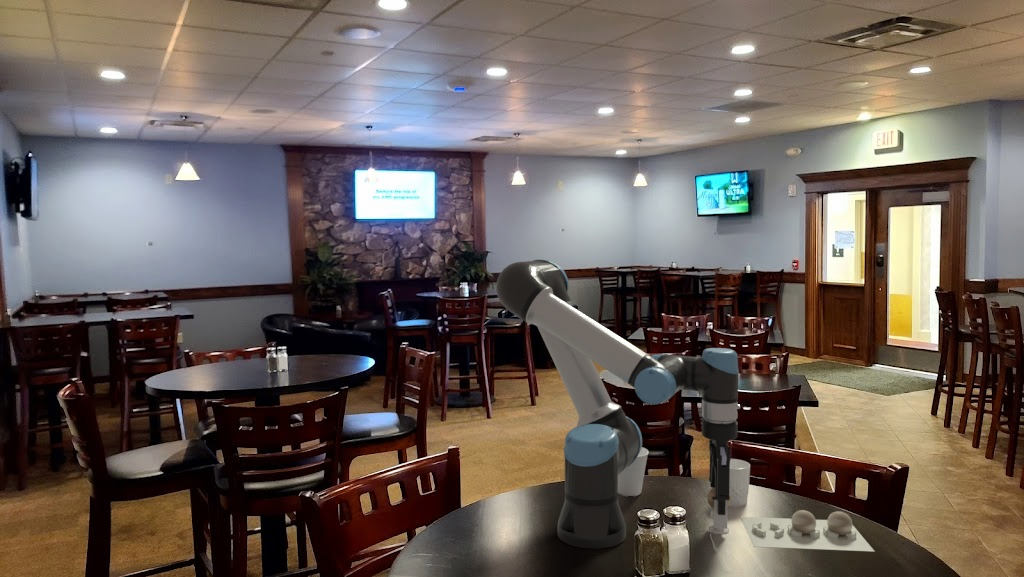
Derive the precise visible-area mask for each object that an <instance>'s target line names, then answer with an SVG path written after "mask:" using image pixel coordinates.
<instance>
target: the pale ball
mask: <svg viewBox="0 0 1024 577" xmlns="http://www.w3.org/2000/svg"><path fill="white" fill-rule="evenodd" d="M826 520H827V524H828V527H829V529H830V530H831V531H832V532H835V533H838V534H839V535H846V534H848V533H849V532H850V531H851V530H852V526H854V525H853V520H852V518H851V517H850V515H849V514H847V513H846V512H844V511H837V510H836V511H833V512H831V513H830V514H829V515H828V517H827V519H826Z"/></svg>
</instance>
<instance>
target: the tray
mask: <svg viewBox="0 0 1024 577" xmlns="http://www.w3.org/2000/svg"><path fill="white" fill-rule="evenodd" d="M740 520H741V522H742V524H743V526H744V529H745V530H746V532H747V534H748V536H749V539H750V541H751V543H752V545H753V547H754V548H774V549H775V548H777V549H799V550H801V549H802V550H804V549H805V550H821V551H822V550H823V551H824V550H827V551H849V552H870V553H871V552H876V550H874V548H873V547H872V546H871V545H870V544H869V542H867V540H866V539H865V538H864V537H863V535H862V534H861V533H860V532H859V531H858V529H857V528H856V527H855V525H853V526H852V530H851V531H850V532H849V533H848V534H846V535H839V534H838V533H835V532H832V531H831V530H830V529H829V527H828V524H827V520H828V519H815V520H816V527H815V529H814V531H812V532H811V533H809V534H802V532H800V531H797V530H795V529H794V527H793V525H792V518H784V517H783V518H781V517H759V516H758V517H755V516H754V517H752V516H740Z"/></svg>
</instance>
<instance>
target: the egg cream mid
mask: <svg viewBox="0 0 1024 577" xmlns="http://www.w3.org/2000/svg"><path fill="white" fill-rule="evenodd" d="M791 519H792V525H793V527H794V529H795V530H797V531H800V532H802V534H809V533H811V532H812V531H814V529H815V527H816V520H817V519H816V517H815V516H814V514H813V513H812V512H810V511H808V510H804V509H800V510H797V511H796V512H794V513H793V515H792V516H791Z"/></svg>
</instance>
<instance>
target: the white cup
mask: <svg viewBox="0 0 1024 577" xmlns="http://www.w3.org/2000/svg"><path fill="white" fill-rule="evenodd" d="M750 474H751V464H750V463H749V462H747V461H746V460H742V459H737V458H731V460H730V477H729V494H730V498H731V501H730V504H729V506H730V507H743V506H746V505H748V496H749V489H750V476H751V475H750ZM729 506H728V507H729Z"/></svg>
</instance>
